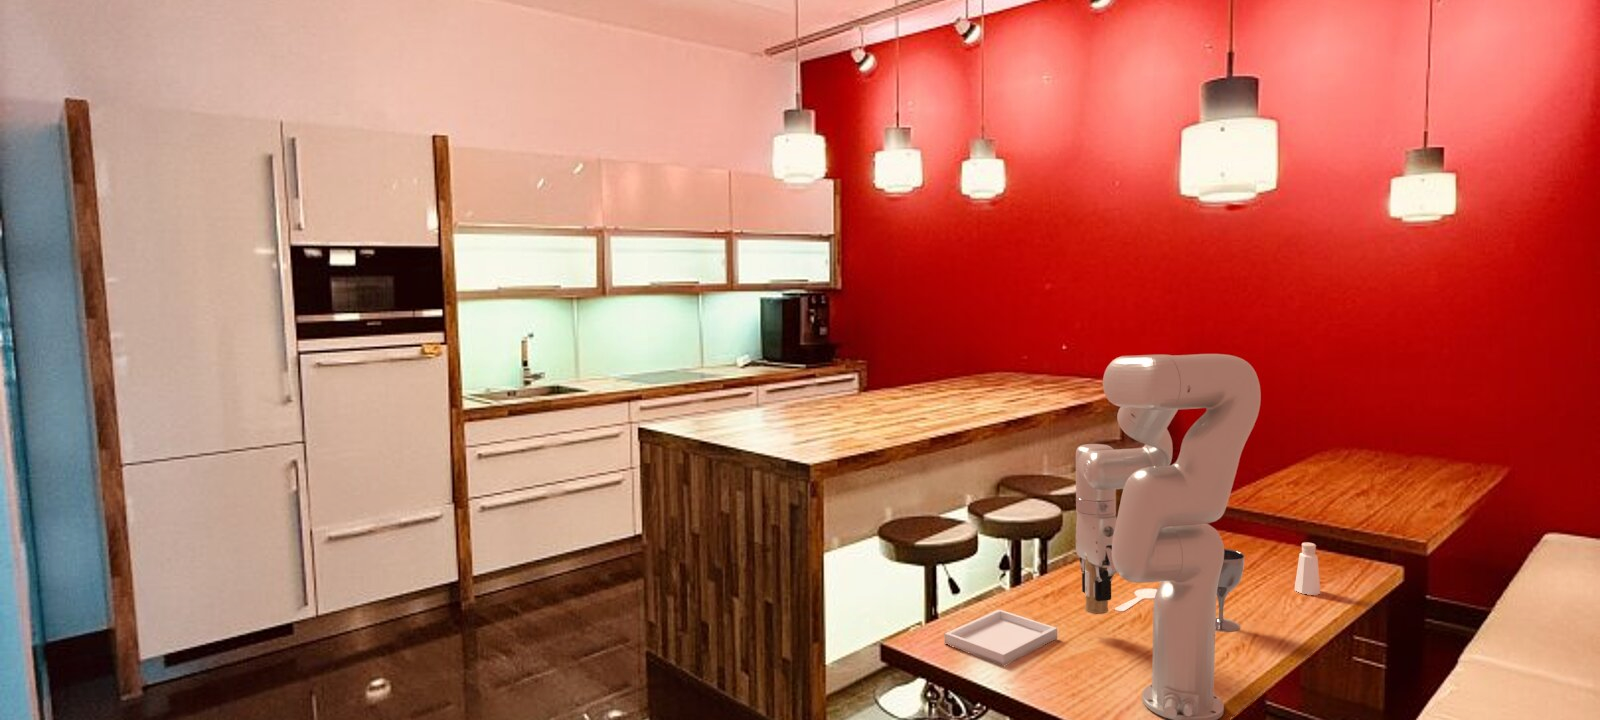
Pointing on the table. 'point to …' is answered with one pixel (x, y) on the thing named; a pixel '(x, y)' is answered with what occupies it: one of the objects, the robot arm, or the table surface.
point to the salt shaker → (1308, 571)
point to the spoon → (1137, 598)
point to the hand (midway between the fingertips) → (1096, 595)
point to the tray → (1001, 636)
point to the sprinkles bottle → (1093, 590)
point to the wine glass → (1228, 586)
